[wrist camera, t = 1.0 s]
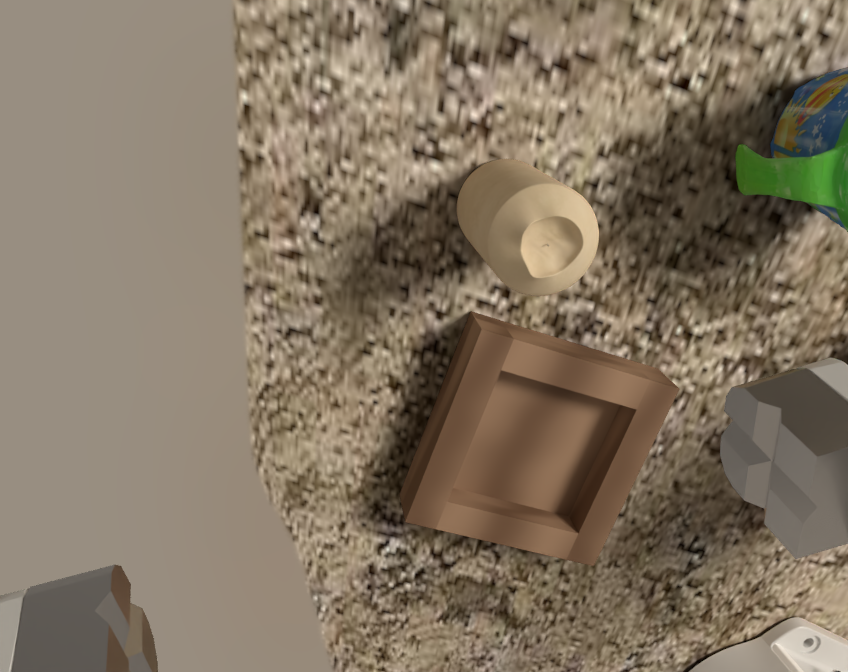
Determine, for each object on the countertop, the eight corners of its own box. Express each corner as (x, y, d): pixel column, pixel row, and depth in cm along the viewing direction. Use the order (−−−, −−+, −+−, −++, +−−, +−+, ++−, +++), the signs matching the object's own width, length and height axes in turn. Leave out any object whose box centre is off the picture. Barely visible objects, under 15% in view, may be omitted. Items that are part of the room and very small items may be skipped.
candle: (507, 271, 48) (556, 327, 39) (436, 215, 46) (469, 260, 37) (568, 197, 47) (633, 236, 38) (497, 137, 45) (547, 163, 36)
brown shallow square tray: (657, 368, 52) (679, 388, 49) (578, 537, 55) (593, 566, 52) (470, 311, 49) (481, 329, 46) (399, 494, 52) (405, 522, 49)
